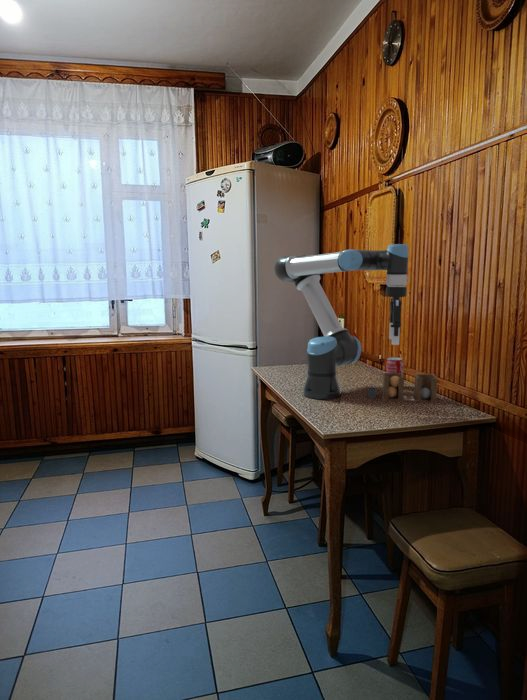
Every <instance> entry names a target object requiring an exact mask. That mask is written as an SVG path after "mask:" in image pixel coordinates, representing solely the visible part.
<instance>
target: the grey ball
mask: <svg viewBox="0 0 527 700" xmlns="http://www.w3.org/2000/svg"><path fill="white" fill-rule="evenodd" d="M430 396H431V391H430V390H429V389H428V388H422V394H421V398H423V399H428V398H429V397H430Z"/></svg>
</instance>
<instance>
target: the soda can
mask: <svg viewBox="0 0 527 700" xmlns="http://www.w3.org/2000/svg"><path fill="white" fill-rule="evenodd" d="M385 373H402V374H403V375H404V361H403V358H402V357H393V356H392V357H387V360H386V361H385Z"/></svg>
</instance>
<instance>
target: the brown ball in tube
mask: <svg viewBox="0 0 527 700" xmlns="http://www.w3.org/2000/svg"><path fill="white" fill-rule="evenodd" d="M396 395H397V390H396V388H395V387H392V386H391V387H389V397H390V398H393V397H395V396H396Z"/></svg>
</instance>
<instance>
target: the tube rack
mask: <svg viewBox="0 0 527 700" xmlns="http://www.w3.org/2000/svg"><path fill="white" fill-rule="evenodd" d="M382 375H383V377H382V378H383V379H382V394H381V398H382V400H383V401H404V402H405V401H406V402H407V401H408V402H426V403H428V402H431V403H432V402H433V403H437V402H438V401H437V395H438V394H437V392H438V391H437V390H438V389H437V388H438V377H437V376H436V375H435V374H433V373H432V374H431V373H414V384H413V385H414V387H413V395H404V388H405V387H404V385H405V384H404V383H405V377H404V373H403V374H402V373H386V372H383V374H382ZM393 376H398V377H399V386H398V387H395V388H396V390H397V395H396V396H395V397H393V398H390V397H389V387H391V385H390V383H389V380H390V378H391V377H393ZM422 388H428V389H429V390H430V391H431V396H430V397H429V398H428V399H423V398H421V394H422Z"/></svg>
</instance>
